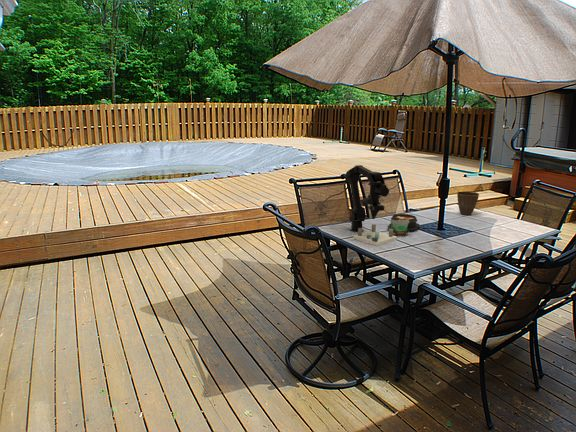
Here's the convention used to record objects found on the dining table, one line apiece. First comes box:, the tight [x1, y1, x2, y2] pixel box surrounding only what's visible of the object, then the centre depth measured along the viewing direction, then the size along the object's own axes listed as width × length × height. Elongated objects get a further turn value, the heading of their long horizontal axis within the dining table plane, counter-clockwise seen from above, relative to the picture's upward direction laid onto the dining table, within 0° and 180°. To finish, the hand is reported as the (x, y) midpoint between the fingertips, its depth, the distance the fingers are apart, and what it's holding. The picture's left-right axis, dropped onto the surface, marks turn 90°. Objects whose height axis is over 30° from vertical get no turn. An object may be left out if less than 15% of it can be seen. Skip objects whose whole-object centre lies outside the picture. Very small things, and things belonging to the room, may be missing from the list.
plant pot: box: [456, 191, 480, 217], centre depth 319 cm, size 15×15×16 cm
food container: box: [390, 218, 409, 237], centre depth 267 cm, size 12×6×10 cm, turn 105°
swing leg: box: [367, 231, 380, 239], centre depth 253 cm, size 9×3×5 cm, turn 39°
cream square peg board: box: [352, 223, 398, 247], centre depth 260 cm, size 18×18×6 cm
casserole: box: [387, 213, 421, 232], centre depth 282 cm, size 25×19×8 cm
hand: (373, 218), depth 260 cm, fingers closed
